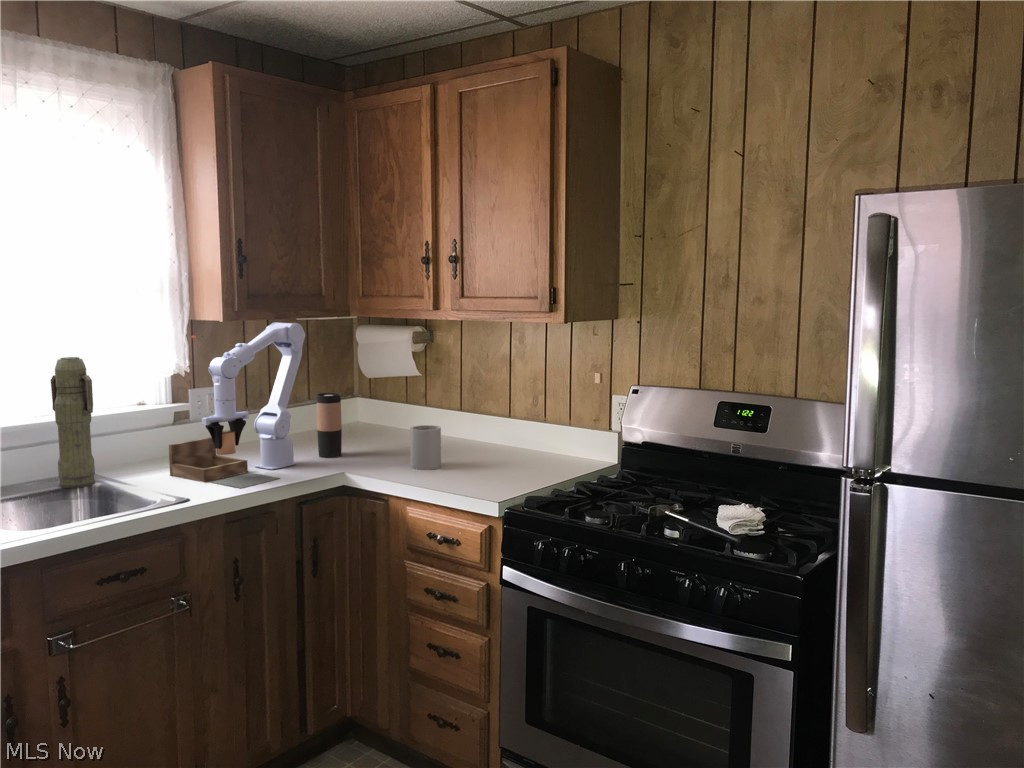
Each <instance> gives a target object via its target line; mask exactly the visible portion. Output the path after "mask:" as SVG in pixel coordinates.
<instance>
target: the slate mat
mask: <svg viewBox="0 0 1024 768" xmlns="http://www.w3.org/2000/svg"><path fill="white" fill-rule="evenodd" d="M280 479H281V477H277V476H273V475H266V474H262V473H261V474H260V473H255V472H248V473H243V474H239V475H235V476H231V477H226V478H222V479H218V480H216V481H215V480H214V481H212V482H211V483H212V484H216V485H220V486H224V487H225V486H226V487H232V488H234V489H235V488H236V489H245V488H248V487H252V486H256V485H260V484H264V483H269V482H271V481H272V482H273V481H277V480H280Z"/></svg>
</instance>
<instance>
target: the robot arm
mask: <svg viewBox="0 0 1024 768" xmlns="http://www.w3.org/2000/svg"><path fill="white" fill-rule="evenodd" d="M305 338H306V333H305V331H304V328H303V326H302V325H301V324H300V323H299V322H298V323H297V322H279V321H277V322H276V321H275V322H272V323H271V324H269V325H267V326H266V328H265V329H264V330H263V331H262V332H261V333H259V334H258V335H257V336H256V337H254V338H253V339H251V341H249V342H248V343H245V342H242V343H240V342H238V343H236V344H235V345H234V346H235V347H234V348H232V349H231V350H229V351H225V352H224V353H223V355H222V356H221V357H220V356H218V357H214V358H213V359H212V360H211V361H210V363H209V366H208V367H207V371H208V372H209V374H210V376H211V378H212V380H211V381H212V382H213V396H214V397H213V400H214V414H213V415H209V416H206V417H202V418H201V425H202V426H205V428H206V430H207V431H208V433H209V435H210V437H212V440H213V443H214V446H215V448H216V450H217V449H222V432H223V431H224V427H225V426H224V425H223V424H221V423H225V422H227V424H228V426H229V430H232V431H235V443H236V446H237V447H238V446H239V444H240V440H241V435H242V432H243V430H244V428H245V426H246V424H247V421H246V419H249V411H245V410H244V411H237V403H236V402H237V400H236V379H235V378H236V377H237V376H238V375H239V372H240V370H241V369H242V368H243V367H245V366H246V365H248V364H249V363H250V362H252V361H253V360H254V359H255V354H256V353H258V352H260V351H261V350H263V349H265V348H267V347H268V346H269V345H271V344H273V345H274V346H275V347H276V349H277V350H278V351H279V352H280V353H281V355H282V356H281V361H280V364H279V367H278V370H277V373H276V378H275V380H274V384H273V387H272V391H271V393H270V396H269V400H268V403H267V404H266V405H265V406H263V407H262V408H261V409H260V410H259V414H258V415H257V417H256V418H255V420H254V423H253V428H254V429H253V430H254V431H255V433H256V434H257V435H258V438H259V443H260V444H259V445H260V446H259V447H260V448H259V449H260V463H259V464H255V465H254V467H255V468H258V469H259V468H260V469H266V470H270V471H271V470H277V469H282V468H285V467H291V466H293V465H296V462H294V443H293V440H292V438H291V437H290V436H289V435H288V434H289V433H290V430H291V417H292V415H291V414H290V412H289V411H288V410H287V407H288V403H289V401H290V396H291V394H292V391H293V388H294V387H293V386H294V384H295V380H296V377H297V373H298V370H299V367H300V363H301V360H302V357H303V345H304V343H305V342H304V341H305Z"/></svg>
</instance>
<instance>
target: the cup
mask: <svg viewBox="0 0 1024 768" xmlns="http://www.w3.org/2000/svg"><path fill="white" fill-rule="evenodd" d="M409 429H410V438H409V439H410V469H413V470H416V469H417V471H419V470H420V471H432V470H433V471H434V470H438V469H441V467H442V452H441V450H442V439H441V436H442V435H441V434H442V429H441V426H438V425H429V424H427V425H421V424H420V425H414V426H413V425H412V426H411V427H410V428H409Z"/></svg>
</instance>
